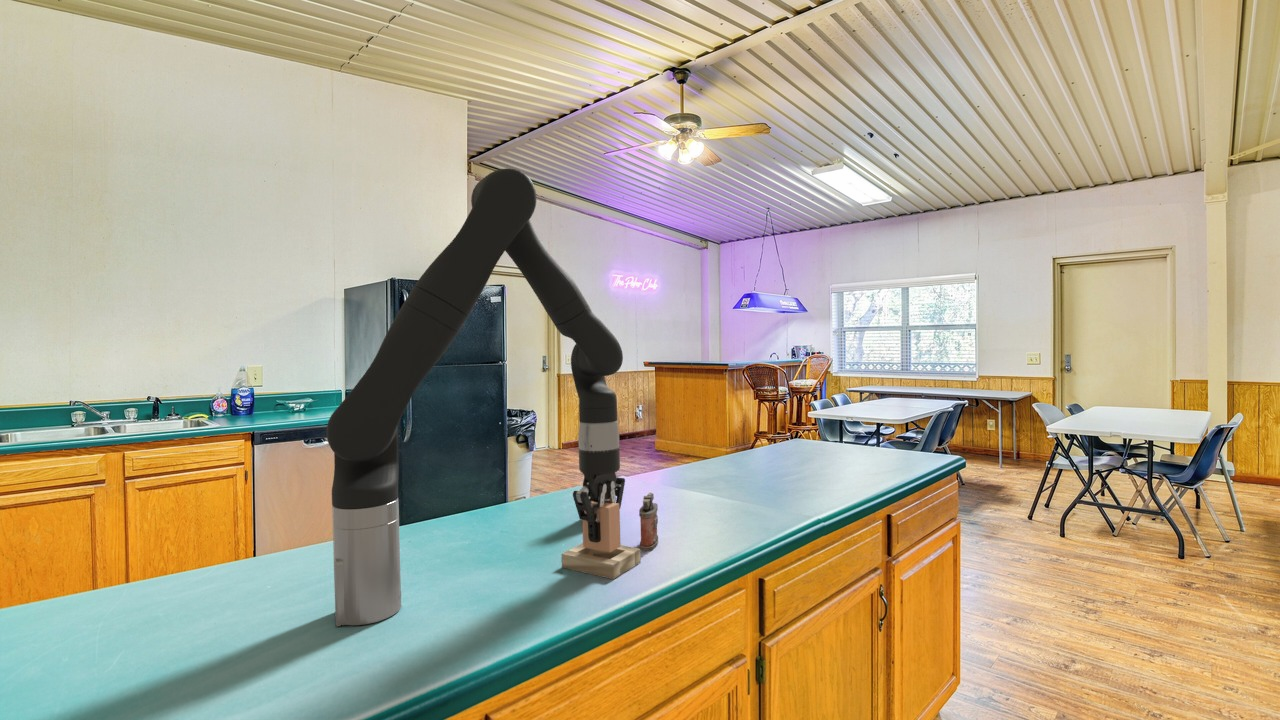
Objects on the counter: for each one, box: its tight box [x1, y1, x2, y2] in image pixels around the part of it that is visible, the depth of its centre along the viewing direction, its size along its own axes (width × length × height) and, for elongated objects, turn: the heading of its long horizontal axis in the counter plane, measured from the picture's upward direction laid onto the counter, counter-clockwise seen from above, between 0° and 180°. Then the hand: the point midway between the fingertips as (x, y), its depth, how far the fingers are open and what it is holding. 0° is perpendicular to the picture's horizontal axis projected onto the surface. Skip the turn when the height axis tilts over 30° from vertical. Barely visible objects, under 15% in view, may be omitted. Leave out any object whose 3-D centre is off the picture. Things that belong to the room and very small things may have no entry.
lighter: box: [638, 492, 659, 552], centre depth 117 cm, size 8×3×10 cm, turn 168°
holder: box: [561, 542, 642, 580], centre depth 107 cm, size 9×12×2 cm
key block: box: [581, 501, 622, 552], centre depth 106 cm, size 4×6×8 cm, turn 58°
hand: (601, 537), depth 107 cm, fingers closed on key block, 3 cm apart
